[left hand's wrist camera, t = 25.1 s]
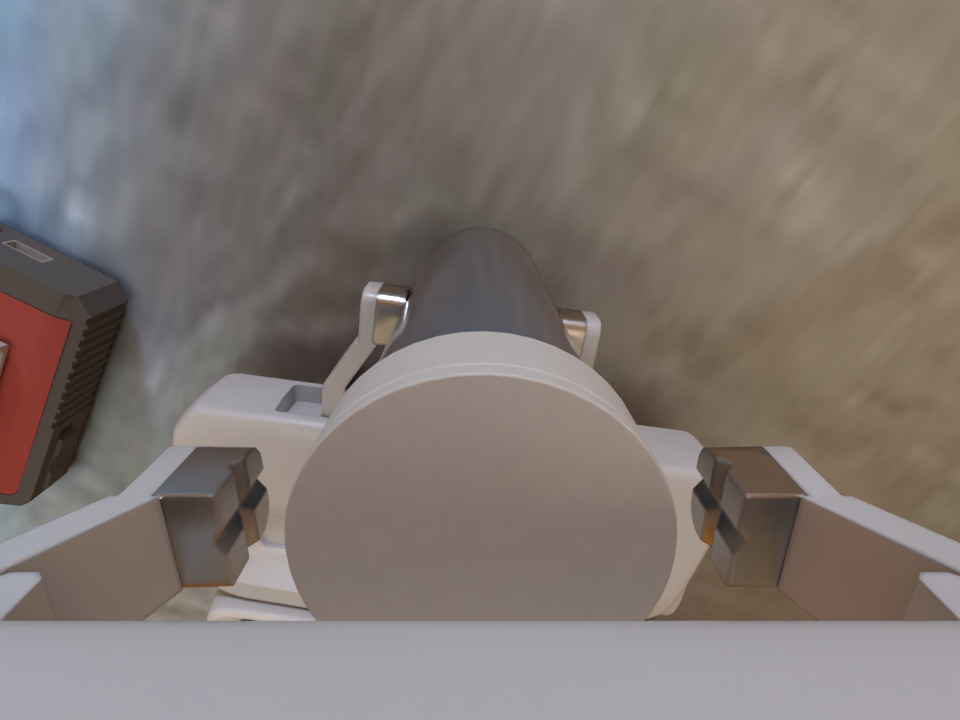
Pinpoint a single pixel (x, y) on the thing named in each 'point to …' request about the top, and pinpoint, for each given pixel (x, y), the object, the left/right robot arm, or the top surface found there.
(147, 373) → the top surface
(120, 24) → the top surface
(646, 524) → the lid
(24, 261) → the walkie-talkie
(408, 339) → the dark grey cylinder
